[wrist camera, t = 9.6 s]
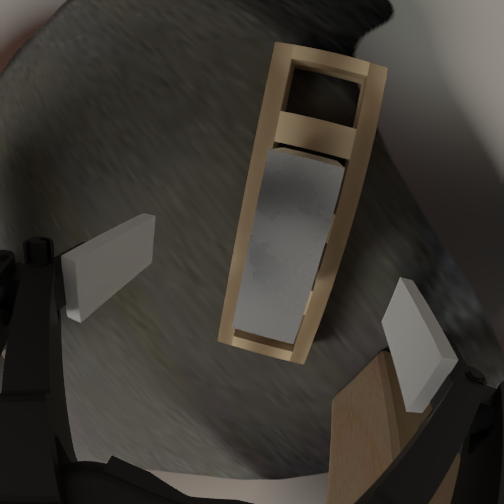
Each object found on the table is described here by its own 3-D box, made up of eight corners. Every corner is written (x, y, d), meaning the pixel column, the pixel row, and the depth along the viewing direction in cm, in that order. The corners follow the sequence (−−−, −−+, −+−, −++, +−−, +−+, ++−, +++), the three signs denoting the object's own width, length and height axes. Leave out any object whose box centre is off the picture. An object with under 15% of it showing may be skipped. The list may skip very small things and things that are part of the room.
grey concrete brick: (264, 259, 30) (231, 327, 19) (289, 146, 26) (268, 149, 15) (304, 269, 30) (293, 344, 19) (333, 157, 26) (344, 168, 15)
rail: (226, 323, 34) (217, 341, 31) (280, 53, 23) (275, 41, 20) (305, 344, 33) (303, 364, 30) (380, 76, 22) (388, 67, 19)
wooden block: (328, 397, 35) (316, 544, 17) (381, 344, 31) (407, 510, 13) (385, 421, 35) (393, 551, 17) (437, 375, 31) (476, 513, 13)
